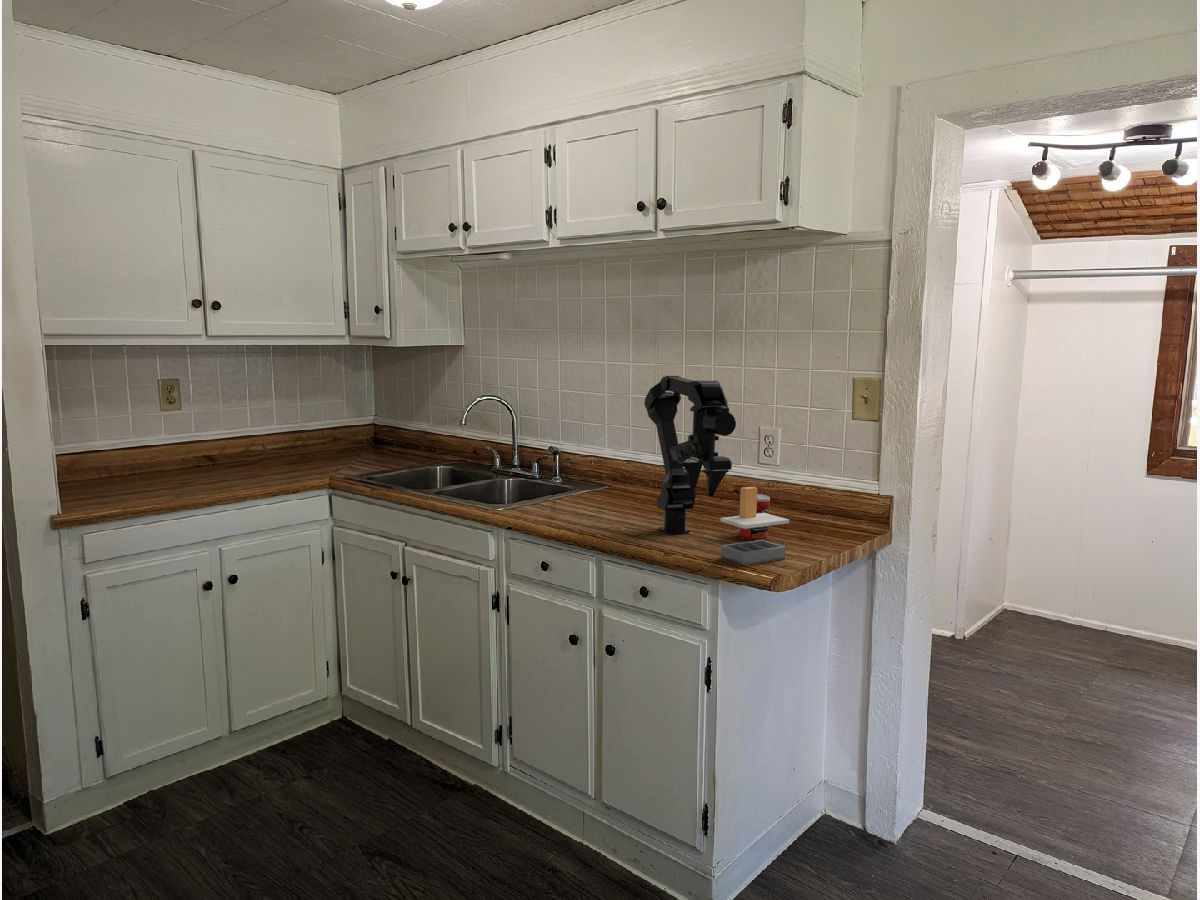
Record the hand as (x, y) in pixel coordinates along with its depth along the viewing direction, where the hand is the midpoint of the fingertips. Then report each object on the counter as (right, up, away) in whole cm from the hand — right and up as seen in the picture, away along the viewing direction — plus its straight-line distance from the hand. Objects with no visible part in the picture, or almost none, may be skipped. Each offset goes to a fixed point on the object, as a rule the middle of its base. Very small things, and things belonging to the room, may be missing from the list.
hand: (701, 493), depth 215 cm
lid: (+11, -6, -13) cm, 18 cm away
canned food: (+15, -12, +10) cm, 22 cm away
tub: (+11, -15, -11) cm, 22 cm away
